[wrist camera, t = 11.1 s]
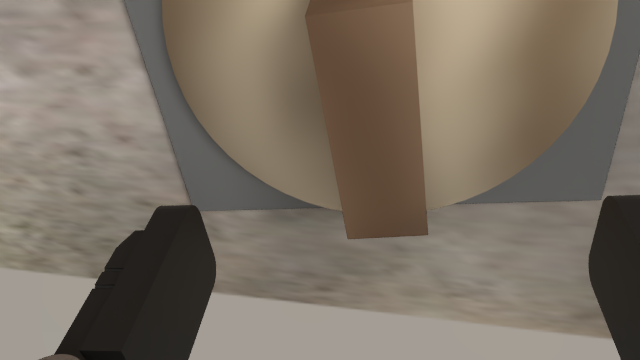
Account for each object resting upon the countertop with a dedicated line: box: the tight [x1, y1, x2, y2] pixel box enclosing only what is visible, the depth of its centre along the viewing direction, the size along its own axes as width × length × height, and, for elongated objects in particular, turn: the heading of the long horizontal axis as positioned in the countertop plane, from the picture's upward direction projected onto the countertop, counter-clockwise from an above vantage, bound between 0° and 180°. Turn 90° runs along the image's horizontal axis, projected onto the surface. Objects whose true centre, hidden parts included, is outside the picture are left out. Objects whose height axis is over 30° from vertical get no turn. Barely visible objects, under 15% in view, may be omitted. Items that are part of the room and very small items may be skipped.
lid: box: [162, 0, 618, 239], centre depth 16 cm, size 15×15×6 cm
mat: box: [124, 0, 640, 211], centre depth 19 cm, size 18×16×1 cm
